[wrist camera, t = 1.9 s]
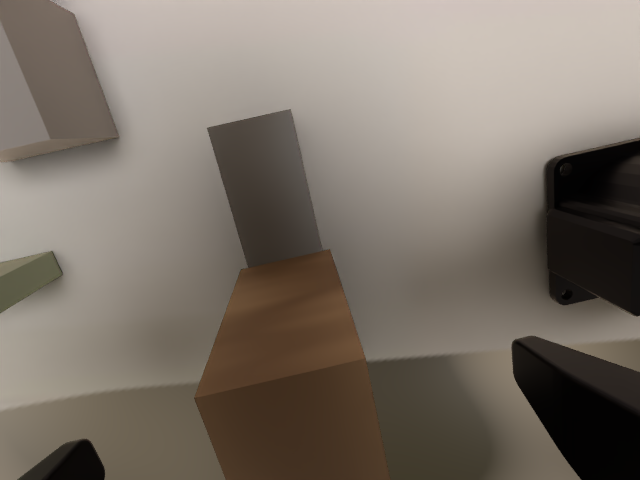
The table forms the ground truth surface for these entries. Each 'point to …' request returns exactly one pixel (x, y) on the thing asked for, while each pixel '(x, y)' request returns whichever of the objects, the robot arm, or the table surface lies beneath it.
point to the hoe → (284, 329)
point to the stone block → (47, 83)
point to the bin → (25, 277)
